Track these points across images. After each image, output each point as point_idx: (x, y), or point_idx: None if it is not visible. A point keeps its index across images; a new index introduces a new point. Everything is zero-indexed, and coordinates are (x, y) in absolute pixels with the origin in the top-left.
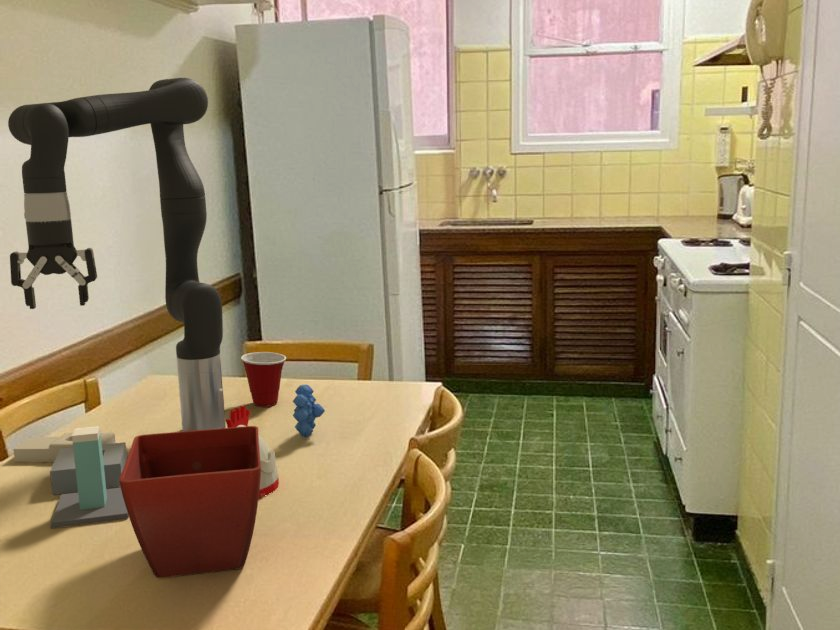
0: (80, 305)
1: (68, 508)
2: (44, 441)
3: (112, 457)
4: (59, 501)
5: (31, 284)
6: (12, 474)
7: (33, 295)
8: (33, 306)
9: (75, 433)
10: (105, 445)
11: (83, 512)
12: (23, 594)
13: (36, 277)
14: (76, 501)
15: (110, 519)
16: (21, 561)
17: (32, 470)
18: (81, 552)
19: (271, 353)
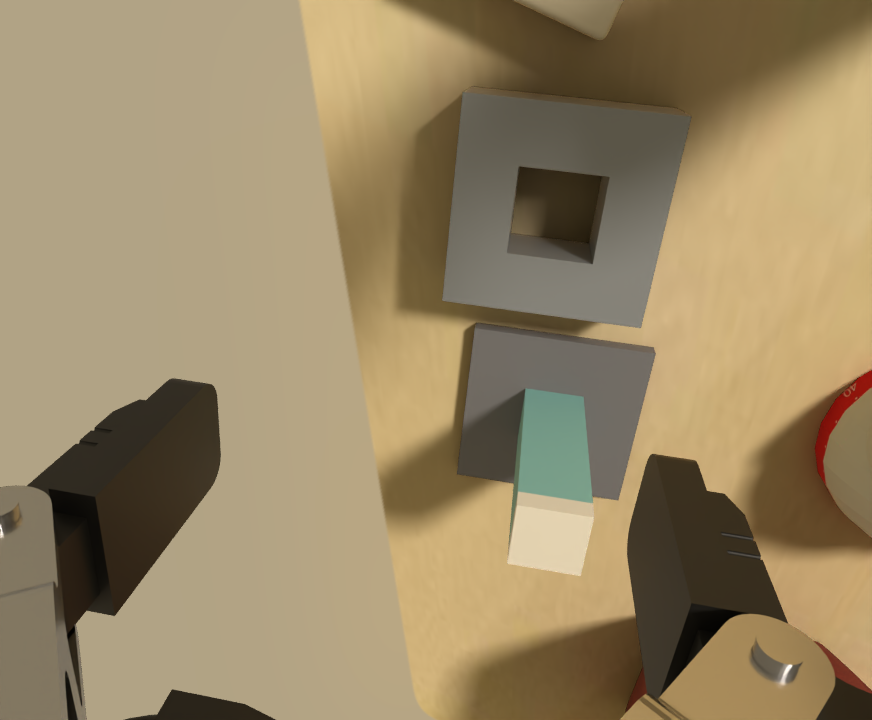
0: (630, 533)
1: (492, 419)
2: None
3: (625, 263)
4: (471, 369)
5: (61, 580)
6: (321, 48)
7: (154, 504)
8: (208, 486)
9: (517, 549)
10: (617, 125)
11: None
12: (430, 661)
13: (76, 688)
14: (510, 388)
15: None
16: (415, 567)
17: (377, 35)
18: (516, 582)
19: None
